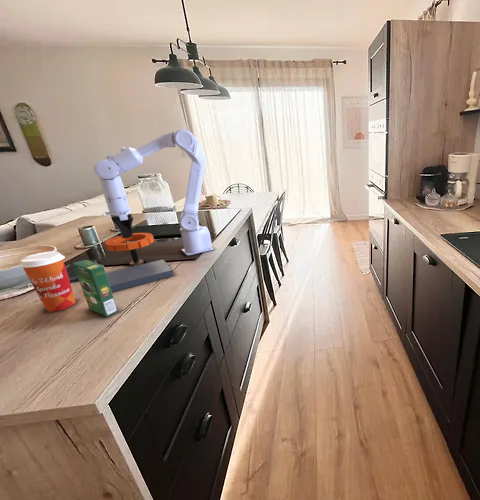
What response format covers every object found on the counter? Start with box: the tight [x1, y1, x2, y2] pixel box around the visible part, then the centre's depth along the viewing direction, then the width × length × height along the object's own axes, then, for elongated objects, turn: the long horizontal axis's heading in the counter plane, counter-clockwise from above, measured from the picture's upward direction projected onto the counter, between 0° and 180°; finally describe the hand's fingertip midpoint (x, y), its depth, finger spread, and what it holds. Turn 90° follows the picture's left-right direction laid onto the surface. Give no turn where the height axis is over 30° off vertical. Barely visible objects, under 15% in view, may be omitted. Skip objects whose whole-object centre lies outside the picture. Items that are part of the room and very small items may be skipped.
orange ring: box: [104, 232, 155, 252], centre depth 97 cm, size 13×13×2 cm
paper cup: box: [19, 250, 76, 312], centre depth 72 cm, size 8×8×14 cm
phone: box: [65, 259, 98, 283], centre depth 93 cm, size 8×1×15 cm
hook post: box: [129, 249, 145, 267], centre depth 99 cm, size 4×4×7 cm
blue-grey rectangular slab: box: [106, 259, 174, 293], centre depth 90 cm, size 16×12×2 cm
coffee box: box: [72, 259, 118, 318], centre depth 70 cm, size 8×3×13 cm, turn 65°
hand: (127, 236), depth 100 cm, fingers closed on orange ring, 2 cm apart
